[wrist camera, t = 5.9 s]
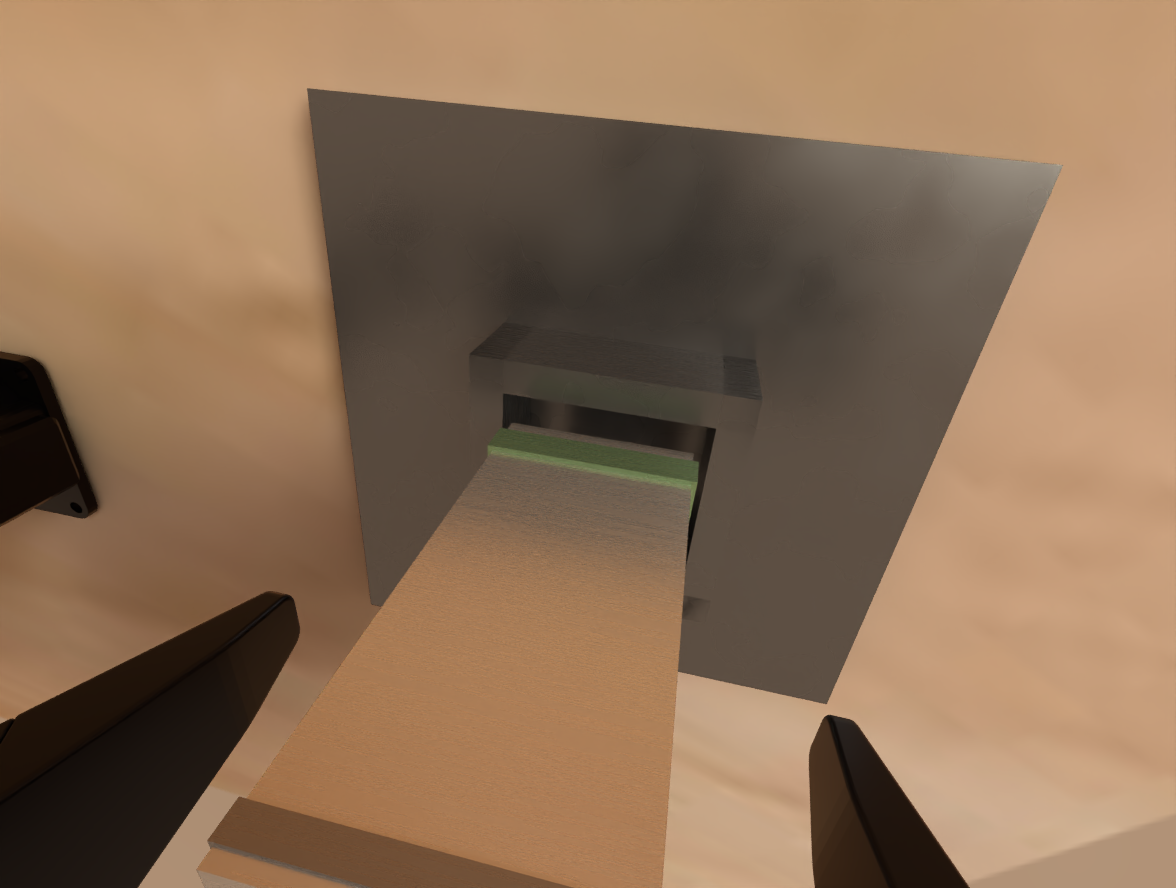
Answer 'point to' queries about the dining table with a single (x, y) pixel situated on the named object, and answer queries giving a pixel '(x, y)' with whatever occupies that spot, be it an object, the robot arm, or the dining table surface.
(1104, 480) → the dining table surface
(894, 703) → the dining table surface
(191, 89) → the dining table surface
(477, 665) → the post
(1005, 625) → the dining table surface
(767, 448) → the stand base
